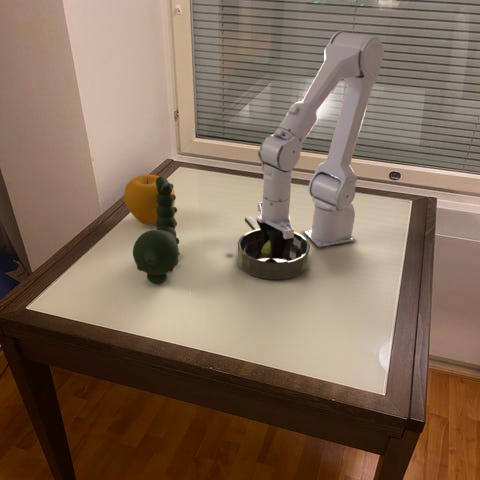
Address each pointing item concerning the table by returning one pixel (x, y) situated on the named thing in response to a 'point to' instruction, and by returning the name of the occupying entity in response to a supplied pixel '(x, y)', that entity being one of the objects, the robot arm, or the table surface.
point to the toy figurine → (159, 238)
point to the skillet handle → (252, 223)
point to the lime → (267, 250)
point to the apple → (143, 198)
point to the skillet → (278, 268)
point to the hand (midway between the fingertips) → (273, 252)
